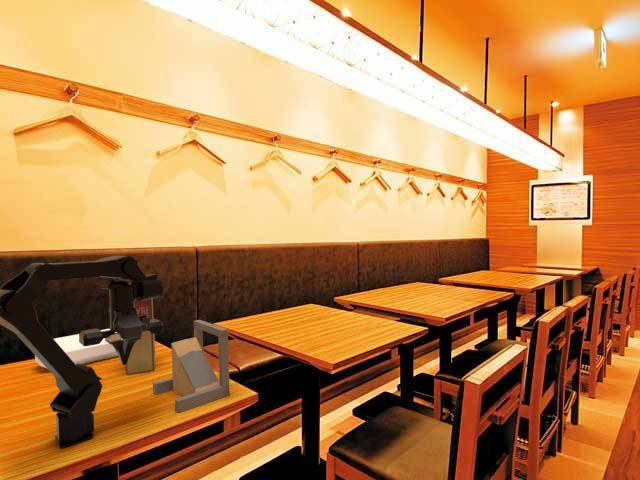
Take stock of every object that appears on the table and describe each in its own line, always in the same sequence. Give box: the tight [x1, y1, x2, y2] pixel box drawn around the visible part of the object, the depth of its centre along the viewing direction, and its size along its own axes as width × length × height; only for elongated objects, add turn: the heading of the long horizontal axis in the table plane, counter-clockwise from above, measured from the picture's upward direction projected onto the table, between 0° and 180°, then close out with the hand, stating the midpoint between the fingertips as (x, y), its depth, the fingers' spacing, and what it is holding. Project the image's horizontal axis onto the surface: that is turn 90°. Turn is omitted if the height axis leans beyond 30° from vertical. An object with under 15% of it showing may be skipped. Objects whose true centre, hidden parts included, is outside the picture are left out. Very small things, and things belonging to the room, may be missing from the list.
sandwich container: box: [170, 336, 220, 405], centre depth 110 cm, size 9×15×15 cm, turn 52°
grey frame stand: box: [152, 319, 230, 414], centre depth 109 cm, size 15×18×19 cm
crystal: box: [34, 328, 123, 369], centre depth 142 cm, size 14×10×28 cm
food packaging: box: [125, 299, 156, 376], centre depth 133 cm, size 13×9×25 cm
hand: (124, 364), depth 97 cm, fingers closed
